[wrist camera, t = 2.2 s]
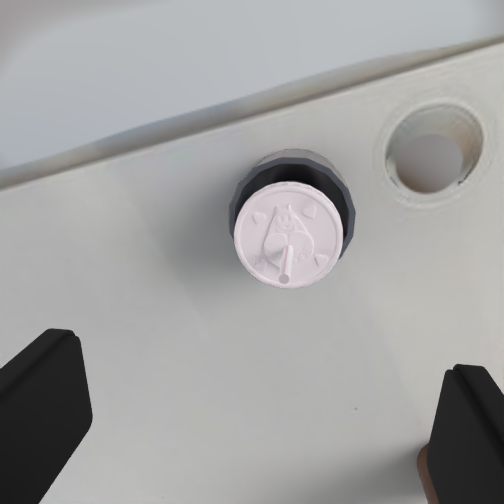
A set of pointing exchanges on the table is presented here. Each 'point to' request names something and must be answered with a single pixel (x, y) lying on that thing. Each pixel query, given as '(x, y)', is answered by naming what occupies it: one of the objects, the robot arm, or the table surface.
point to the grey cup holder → (302, 169)
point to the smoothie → (288, 235)
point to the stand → (426, 476)
